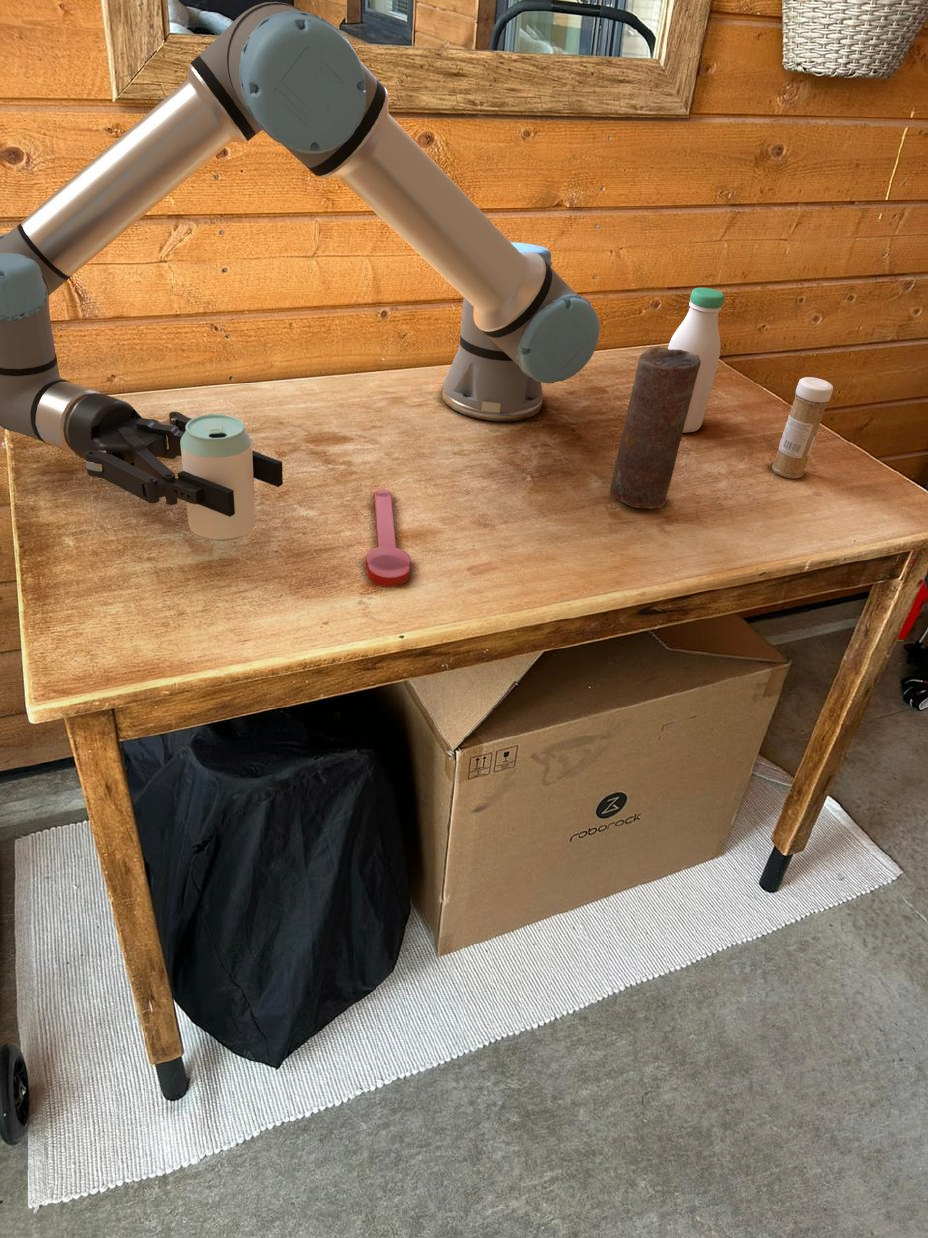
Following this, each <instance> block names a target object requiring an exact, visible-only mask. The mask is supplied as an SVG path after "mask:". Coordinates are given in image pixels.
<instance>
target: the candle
mask: <svg viewBox="0 0 928 1238" xmlns="http://www.w3.org/2000/svg"><path fill="white" fill-rule="evenodd" d="M700 363H701V360H700V358H699V356H698V355H697V354H694V353H689V352H687V351H683V350H673V349H672V350H669V349H668V347H665V346H654V347H648V348H647V349H645V350H644V351H643V352H642V353H641V354H640V355H639V358H638V361H637V366H636V371H635V376H634V380H633V384H632V389H631V394H630V398H629V403H628V406H627V412H626V417H625V420H624V425H623V429H622V432H621V433H622V434H621V438H620V443H619V447H618V450H617V455H616V459H615V465H614V469H613V473H612V477H611V482H610V487H609V493H610V496H612V498H613V499H615V500H617V501H620V502H622V503H623V504H626V505H627V506H629V507H632V508H637V509H638V508H640V509H650V510H652V509H656V508H658V509H661V508H662V507H663V506H664V505H665V504H666V502H667V497H668V494H669V490H670V486H671V482H672V478H673V473H674V470H675V465H676V461H677V458H678V453H679V449H680V445H681V443H682V442H681V441H682V437H683V433H684V432H683V429H684V425H685V421H686V417H687V414H688V410H689V405H690V401H691V398H692V394H693V390H694V386H695V382H696V378H697V374H698V370H699V367H700Z"/></svg>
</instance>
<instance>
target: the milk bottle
mask: <svg viewBox="0 0 928 1238" xmlns="http://www.w3.org/2000/svg"><path fill="white" fill-rule="evenodd" d="M724 301H725V294H724V292H722V291H720V290H718V289H715V288H710V287H695V288H693V289H692V291H691V293H690V298H689V303H688V305H689V309H688V312H687V314H686V316H685V318H684V319H683V321H682V322H681V324H680V325H679V326H678V327H677V328H676V330H675V332H674V333H673V334H672V337H671V338H670V341H669V344H668V346H667V349H669V350H672V349H673V350H683V351H687V352H689V353H694V354H697V355H698V356H699V358H700V360H701V363H700V367H699V370H698V374H697V378H696V382H695V386H694V390H693V394H692V398H691V401H690V405H689V410H688V414H687V417H686V421H685V425H684V429H683V433H694V432H696V431H698V430H699V429H700V428H701V427H702V425H703V421H704V418H705V414H706V411H707V407H708V404H709V399H710V396H711V392H712V390H713V389H712V388H713V384H714V381H715V378H716V373H717V369H718V365H719V360H720V357H721V346H722V345H721V336H720V332H719V313H720V312H721V311H722V306H723V304H724Z"/></svg>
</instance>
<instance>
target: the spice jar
mask: <svg viewBox="0 0 928 1238" xmlns="http://www.w3.org/2000/svg"><path fill="white" fill-rule="evenodd" d="M833 391H834V386H833V384H832V383H831V382H829V381H827V380H825V379H823V378H819V377H818V378H817V377H813V376H806V377H802V378H800V379H799V381H798V383H797V386H796V389H795V396H794V399H793V402H792V406H791V408H790V412H789V414H788V416H787V419H786V422H785V426H784V428H783V431H782V435H781V438H780V441H779V444H778V449H777V452H776V455H775V458H774V462H773V463H772V465H771V469H772V471H773V472H774V473H775V474H777V475H778V476H780V477H783V478H787V479H800V478H802V477H803V476H804V474H805V469H806V466H807V464H808V463H807V462H808V460H809V457H810V456H811V453H812V451H813V447H814V444H815V441H816V439H817V434H818V432H819V428H820V426H821V422H822V419H823V416H824V414H825V410H826V408H827V405H828V403H829V401H830V400H831V397H832V394H833Z"/></svg>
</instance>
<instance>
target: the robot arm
mask: <svg viewBox="0 0 928 1238" xmlns="http://www.w3.org/2000/svg"><path fill="white" fill-rule="evenodd" d="M353 47H354V46H353V44H351V42H350V41H349V39H348V38H347V36H346V35H344V34H343V33H342V32H341V30H339V29H338V28H337V27H336V26H335V25H333V24H332V23H331V22H329V21H328V20H326V19H325V18H322V17H321V16H318V15H316V14H313V13H310V12H307V11H304V10H302V9H300V8H299V7H296V6H294V5H292V4H290V3H289V4H288V3H286V2H279V1H270V2H269V1H268V2H263V3H260V4H256V5H254V6H252V7H250V8H248V9H247V10H245V11H244V12H243V13H241V14H240V15H239V16H238V17H236V19H235V20H233V21H232V23H230V25H229V26H227V28H225V29H224V30H223V32H221V33H220V34H219V35H218V36H217V37H216V38H215V39H214V40H213V41H212V42H211V43H210V44H208V46H207V47H206V48H205V49H204V50H203V51H202V52H201V53H200V54H199V55H198V56H196V57H195V58H194V59H193V60H191V62H189V63H188V64H187V75H186V76H187V77H186V79H185V81H184V82H183V83H181V84H180V85H179V86H178V87H177V88H176V89H174V90H173V91H172V92H171V93H170V94H169V95H167V96H166V97H165V98H164V99H163V100H162V101H160V102H159V103H158V104H157V105H156V106H154V108H152V109H150V111H148V113H146V114H145V115H144V116H143V117H141V118H140V119H139V120H138V121H137V122H136V123H134V124H133V125H132V126H131V127H130V128H129V129H128V130H127V131H125V132H124V133H123V134H122V135H120V136H119V137H118V138H116V140H115V141H114V142H112V143H111V144H110V145H109V146H108V147H107V148H106V149H104V150H103V151H102V152H101V153H99V155H97V156H96V157H95V158H94V159H93V160H92V161H91V162H89V163H88V164H86V166H85V167H83V168H82V169H81V170H80V171H79V172H78V173H76V174H75V175H74V176H73V177H72V178H71V179H69V180H68V181H67V182H66V183H65V184H63V185H62V186H61V187H60V188H59V189H58V190H56V191H55V192H54V193H53V194H52V195H51V196H49V197H48V198H47V199H46V200H45V201H44V202H43V203H42V204H40V205H39V206H38V207H37V208H36V209H34V210H33V211H32V212H31V213H30V214H29V215H28V216H26V217H25V218H24V219H23V220H21V222H20V223H19V224H17V226H15V227H14V228H12V229H11V230H10V231H9V232H7V233H3V234H0V428H2V429H4V430H7V431H8V432H13V433H17V434H20V435H22V436H26V437H29V438H31V439H35V440H37V441H41V443H44V444H45V445H49V446H52V447H54V448H57V449H59V450H62V451H64V452H67V453H70V454H72V455H74V456H76V457H78V458H81V459H83V460H84V462H85V467H86V473H87V475H88V476H89V477H92V478H98V479H101V480H104V481H107V482H109V483H111V484H113V485H114V486H116V487H119V488H120V489H122V490H124V491H126V492H127V493H129V494H131V495H133V496H135V497H136V498H139V499H141V500H143V501H145V502H146V503H148V504H153V505H155V504H158V503H159V502H160V501H161V500H160V499H161V498H163V497H164V498H165V503H166V505H168V506H175V505H177V504H178V503H179V501H178V499H179V500H181V501H184V502H185V503H186V502H188V503H191V504H199V505H201V506H204V507H206V508H209V509H211V510H214V511H216V512H219V513H221V514H224V515H226V516H229V517H231V516H233V515H234V514H235V505H234V490H232V489H229V488H226V487H224V486H221V485H219V484H216V483H213V482H211V481H208V480H206V479H203V478H200V477H198V476H195V475H192V474H190V473H188V472H185V471H183V470H181V471H180V472H178V473H177V477H176V474H175V472H174V471H173V470H172V469H170V467H168V466H166V464H164V462H162V461H161V460H160V459H161V458H162V459H168V460H175V459H176V458H177V457H181V458H182V455H181V444H180V441H181V438H182V436H183V434H184V433H185V431H186V428H185V427H186V424H187V423H188V422H189V421H190V420H191V419H192V418H191V417H188V416H187V415H184V414H183V413H181V412H179V411H170V412H168V416H169V417H168V418H169V419H167V420H163V421H159V420H157V419H154V418H153V419H152V418H145V417H142V416H141V415H140V414H139V413H138V411H137V410H136V409H135V408H134V407H133V406H132V405H131V404H130V403H128V402H127V401H124V400H121V399H119V398H116V397H113V396H110V395H108V394H105V393H102V392H100V391H98V390H95V389H92V388H89V387H86V386H83V385H80V384H77V383H74V382H71V381H69V380H66V379H64V378H62V377H61V375H60V370H59V364H58V357H57V353H56V347H55V340H54V334H53V328H52V321H51V314H50V312H51V311H50V296H51V295H52V294H53V293H54V292H55V291H57V289H59V288H60V287H61V286H62V285H64V284H65V283H66V282H68V280H69V279H70V278H72V276H74V275H75V274H76V273H77V272H78V271H80V269H82V268H83V267H84V266H85V265H87V264H88V263H89V262H90V261H91V260H92V259H94V258H95V257H96V256H97V255H99V254H100V253H101V252H102V251H104V249H106V248H107V247H108V246H109V245H111V244H112V243H113V242H115V240H117V239H118V238H119V237H120V236H121V235H123V234H124V233H125V232H126V231H127V230H129V229H130V228H131V227H133V225H135V224H136V223H137V222H138V221H140V219H142V218H143V217H144V216H146V214H148V213H149V212H150V211H151V210H152V209H154V208H155V207H157V206H158V204H160V203H161V202H162V201H163V200H165V199H166V198H167V197H168V196H169V195H170V194H172V193H173V192H174V191H176V190H177V188H179V187H180V186H181V185H182V184H184V183H185V182H186V181H187V180H189V179H190V178H191V177H192V176H193V175H194V174H196V173H197V172H198V171H200V170H201V169H202V168H203V167H204V166H205V165H206V164H207V163H210V161H211V160H212V159H213V158H215V157H216V156H217V155H218V154H220V153H221V151H223V150H224V149H226V148H227V147H228V146H229V145H230V144H231V143H241V144H247V143H248V142H249V141H250V140H251V139H253V138H254V137H255V136H256V135H258V134H259V133H261V132H262V131H263V132H264V133H266V135H268V136H269V137H270V139H272V140H273V141H275V143H278V144H281V145H282V146H283V147H284V148H285V149H286V150H287V151H288V152H289V153H291V154H292V155H293V156H294V157H295V159H297V160H298V161H299V162H300V163H301V164H303V165H304V167H306V168H307V169H308V170H309V171H310V172H311V173H312V175H314V176H315V177H316V178H319V179H327V178H328V179H329V178H338V179H339V180H340V181H341V182H342V183H343V184H344V185H346V187H347V188H348V189H349V190H351V191H352V192H353V193H354V194H355V195H356V196H357V197H358V198H359V199H360V200H361V201H362V202H363V203H364V204H365V205H366V206H367V207H368V208H369V209H371V210H372V212H374V213H375V214H376V215H377V217H378V218H380V219H381V220H382V222H384V223H385V224H386V225H387V226H388V227H389V228H391V230H393V231H394V233H396V234H397V235H398V237H400V238H401V239H402V240H404V242H405V243H406V244H407V245H408V246H410V248H412V250H414V251H415V253H417V255H419V256H420V257H421V258H422V259H423V260H424V261H425V262H426V263H427V264H428V265H429V266H430V267H432V269H433V270H434V271H436V272H437V273H438V274H439V275H440V277H442V278H443V279H444V280H445V281H446V282H447V283H448V284H449V285H450V286H451V287H453V288H454V289H455V291H457V292H458V293H459V294H460V295H461V296H462V297H463V298H462V299H463V300H462V310H461V311H462V312H461V323H460V335H459V343H458V349H457V351H456V353H455V355H454V358H453V360H452V362H451V365H450V368H449V370H448V372H447V374H446V377H445V379H444V383H443V386H442V400H443V401H444V402H445V404H446V405H447V406H448V407H449V408H450V409H452V410H454V411H455V412H457V413H460V414H462V415H465V416H468V417H471V418H474V419H479V420H484V421H490V422H491V421H492V422H515V421H522V420H526V419H530V418H531V417H534V416H535V415H538V413H539V412H540V411H541V409H542V405H543V398H544V393H543V392H544V391H543V386H542V384H555V383H559V382H563V381H566V380H569V379H570V378H572V377H574V376H575V375H576V374H578V373H579V372H580V371H581V370H583V368H584V367H586V365H587V364H588V363H589V362H590V361H591V359H592V357H593V356H594V353H595V352H596V349H597V347H598V344H599V337H600V333H601V324H600V319H599V316H598V313H597V311H596V309H595V308H594V307H593V306H592V304H591V302H590V301H589V300H588V299H587V298H585V297H584V296H582V295H579V294H578V293H577V292H576V291H575V290H574V289H572V288H571V286H569V284H568V283H566V282H565V280H564V279H563V278H562V277H561V276H560V275H559V274H558V273H557V272H556V271H555V270H554V268H553V267H552V266H553V265H552V264H553V262H552V252H551V251H550V249H548V248H546V247H545V246H542V245H537V244H531V243H524V242H514V241H513V242H512V241H510V240H509V239H508V238H507V237H506V236H505V235H504V234H503V233H502V232H501V231H500V229H499V228H498V227H496V225H495V224H494V223H493V222H492V221H491V220H490V219H489V218H488V217H487V216H486V214H484V213H483V211H482V210H481V209H479V207H477V205H476V204H475V203H474V202H473V201H472V200H471V199H470V197H468V195H466V193H464V191H463V190H462V189H461V188H460V187H459V186H458V185H457V184H456V183H455V182H454V181H453V179H451V178H450V177H449V175H447V173H446V172H444V170H443V169H442V168H441V167H440V166H439V165H438V164H437V163H436V162H435V161H434V160H433V158H431V157H430V155H429V154H428V153H427V152H426V151H425V150H424V149H423V148H422V147H421V146H420V145H419V144H418V143H417V142H416V141H415V140H414V139H413V138H412V137H411V136H410V134H409V133H408V132H407V131H406V130H405V129H404V128H403V127H402V126H401V125H400V124H399V122H398V121H396V119H395V118H393V116H392V115H391V114H390V111H389V93H388V90H387V89H386V87H385V86H384V85H383V84H382V83H381V81H379V80H378V78H376V76H375V75H374V74H373V73H372V72H371V71H370V70H369V69H368V68H367V67H366V65H365V64H364V63H363V62H362V61H361V60H360V58H359V55H358V53H357V52H356V50H355V49H354V48H353ZM158 458H160V459H158ZM252 458H253V478H254V480H258V481H261V482H263V483H266V484H269V485H271V486H273V487H277V488H279V487H281V486H283V485H284V483H283V481H284V480H283V479H284V477H283V475H284V474H283V461H281V460H279V459H277V458H273V457H270V456H267V455H265V454H262V453H261V452H259V451H256V450H253V449H252Z"/></svg>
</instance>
